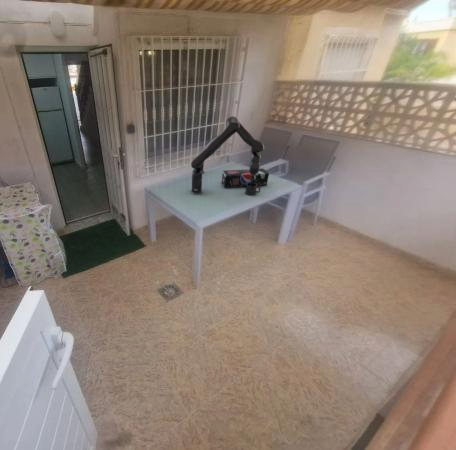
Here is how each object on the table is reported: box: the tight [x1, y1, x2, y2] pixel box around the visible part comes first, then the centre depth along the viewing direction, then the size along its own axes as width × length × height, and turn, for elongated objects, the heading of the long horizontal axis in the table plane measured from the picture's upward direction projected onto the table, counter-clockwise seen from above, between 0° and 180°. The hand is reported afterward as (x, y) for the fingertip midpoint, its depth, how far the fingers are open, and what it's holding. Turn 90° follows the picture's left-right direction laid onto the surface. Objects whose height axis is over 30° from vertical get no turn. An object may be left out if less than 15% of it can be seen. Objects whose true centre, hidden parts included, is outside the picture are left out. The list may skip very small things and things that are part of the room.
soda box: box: [221, 168, 270, 189], centre depth 237 cm, size 40×14×13 cm, turn 91°
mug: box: [244, 183, 262, 196], centre depth 220 cm, size 12×9×8 cm
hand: (251, 185), depth 219 cm, fingers closed on bat, 2 cm apart
